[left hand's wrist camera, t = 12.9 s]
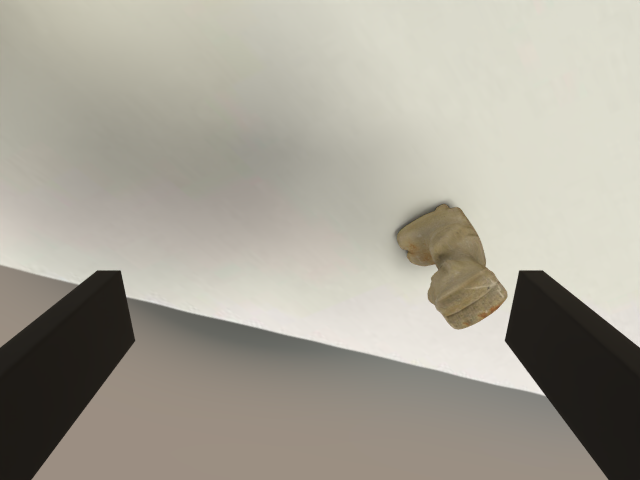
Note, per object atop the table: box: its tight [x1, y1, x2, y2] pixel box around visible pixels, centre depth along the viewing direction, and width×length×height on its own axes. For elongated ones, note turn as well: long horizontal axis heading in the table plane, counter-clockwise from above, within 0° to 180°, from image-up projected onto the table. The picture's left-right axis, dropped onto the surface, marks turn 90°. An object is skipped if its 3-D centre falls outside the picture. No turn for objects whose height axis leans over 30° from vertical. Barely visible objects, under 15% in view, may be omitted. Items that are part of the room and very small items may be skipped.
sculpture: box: [397, 204, 507, 329], centre depth 35 cm, size 6×7×15 cm
